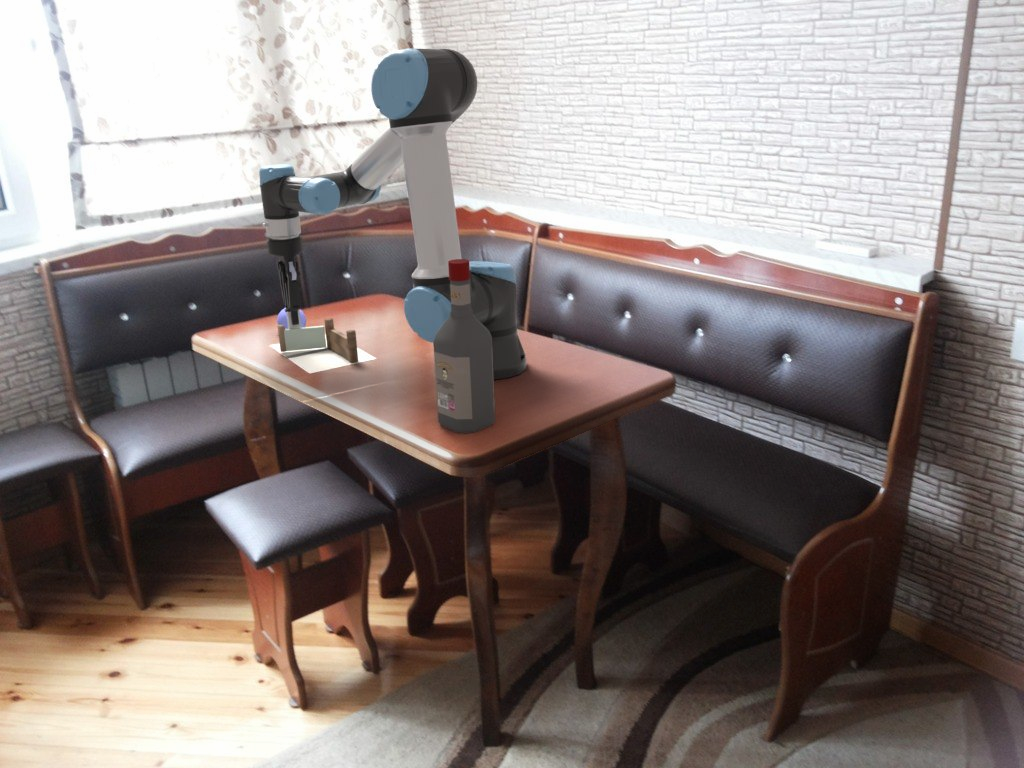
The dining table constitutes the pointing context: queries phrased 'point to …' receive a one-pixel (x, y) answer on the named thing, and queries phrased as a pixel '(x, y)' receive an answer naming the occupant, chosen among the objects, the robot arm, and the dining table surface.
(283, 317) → the sphere
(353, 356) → the fixed fence section
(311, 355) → the card
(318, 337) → the folding fence panel
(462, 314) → the liquor
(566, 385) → the dining table surface
